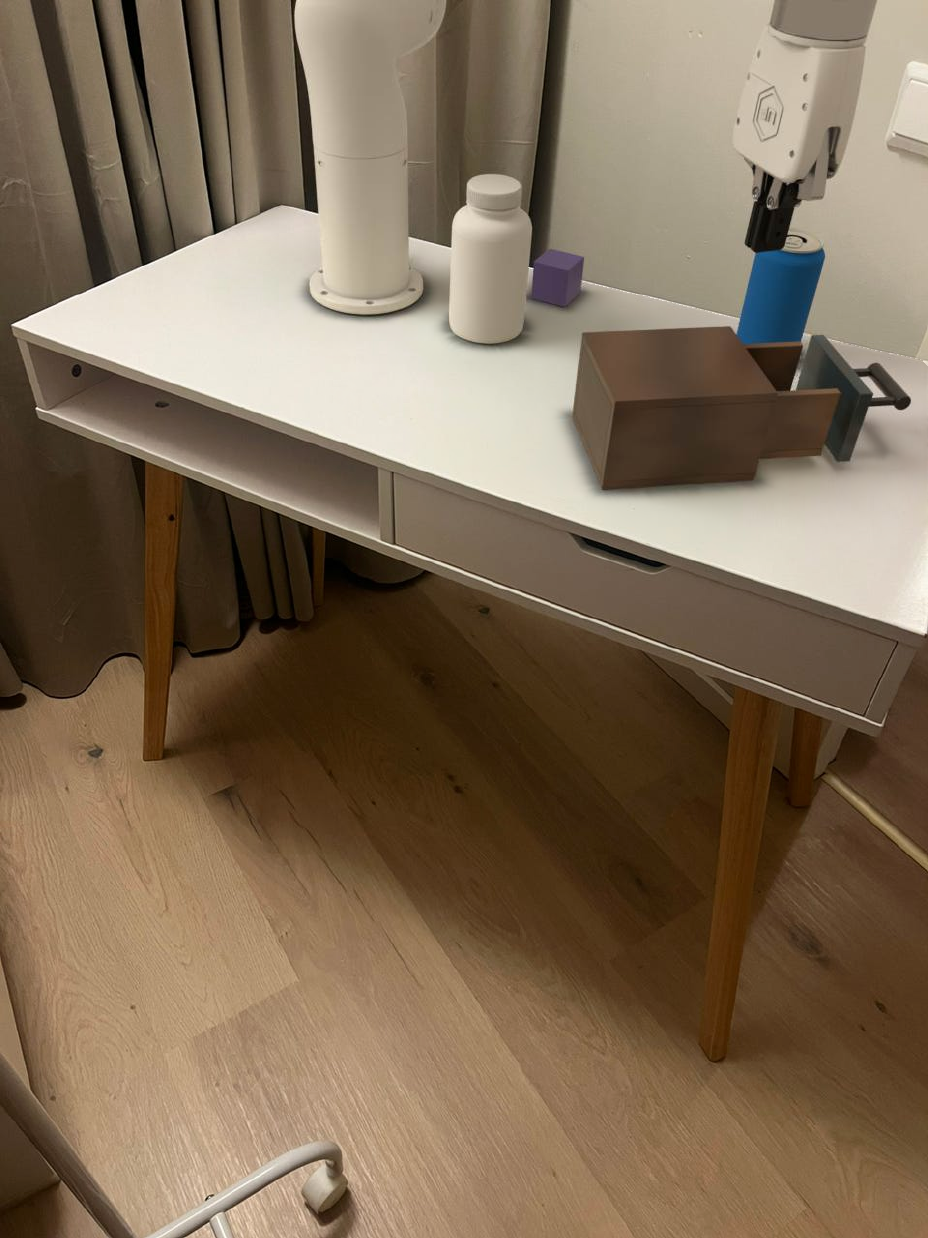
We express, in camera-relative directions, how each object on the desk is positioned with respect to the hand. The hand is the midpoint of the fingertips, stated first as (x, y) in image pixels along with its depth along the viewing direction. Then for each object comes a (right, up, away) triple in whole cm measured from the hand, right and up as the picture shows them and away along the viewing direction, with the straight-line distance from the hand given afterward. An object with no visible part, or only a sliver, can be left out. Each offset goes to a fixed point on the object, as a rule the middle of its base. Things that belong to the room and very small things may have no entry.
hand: (763, 247), depth 89 cm
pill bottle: (-25, -3, +16) cm, 30 cm away
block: (-17, +3, +22) cm, 28 cm away
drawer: (+3, -16, +1) cm, 17 cm away
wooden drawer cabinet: (-9, -18, 0) cm, 20 cm away
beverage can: (+4, -6, +14) cm, 16 cm away
